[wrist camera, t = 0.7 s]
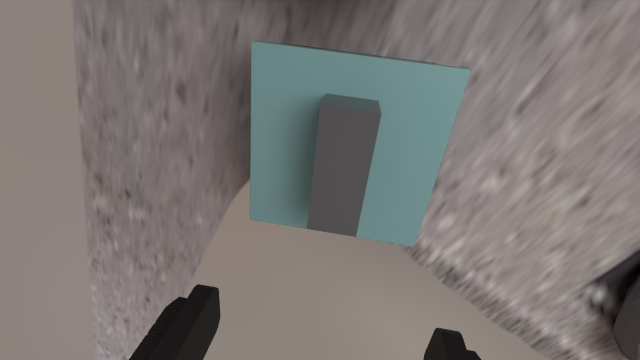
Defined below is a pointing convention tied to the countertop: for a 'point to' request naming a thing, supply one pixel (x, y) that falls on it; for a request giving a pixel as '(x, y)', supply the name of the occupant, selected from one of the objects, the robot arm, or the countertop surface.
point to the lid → (348, 139)
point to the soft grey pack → (629, 323)
